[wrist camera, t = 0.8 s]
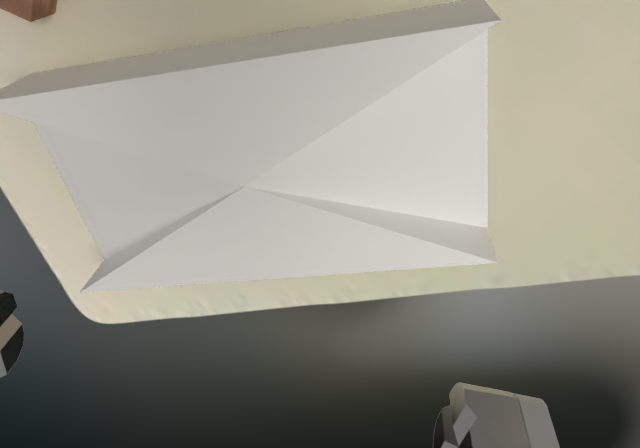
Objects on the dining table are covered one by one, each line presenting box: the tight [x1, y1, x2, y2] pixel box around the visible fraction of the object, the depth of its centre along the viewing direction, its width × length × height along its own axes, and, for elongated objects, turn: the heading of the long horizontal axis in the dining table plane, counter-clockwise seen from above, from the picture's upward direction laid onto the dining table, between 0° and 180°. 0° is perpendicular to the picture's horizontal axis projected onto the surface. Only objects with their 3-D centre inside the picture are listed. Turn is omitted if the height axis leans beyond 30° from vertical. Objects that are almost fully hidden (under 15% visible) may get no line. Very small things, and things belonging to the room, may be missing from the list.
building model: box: [0, 0, 501, 293], centre depth 50 cm, size 45×22×10 cm, turn 100°
